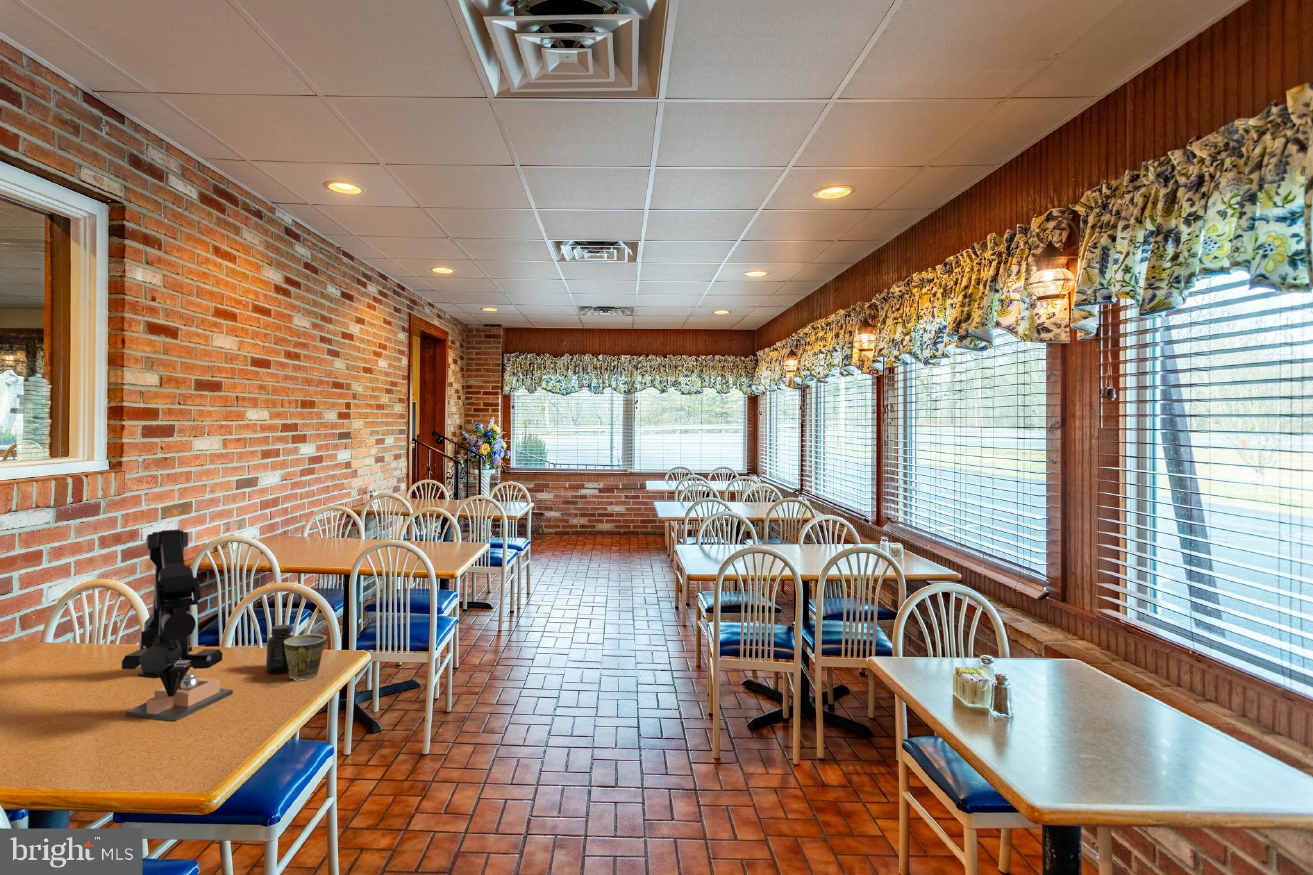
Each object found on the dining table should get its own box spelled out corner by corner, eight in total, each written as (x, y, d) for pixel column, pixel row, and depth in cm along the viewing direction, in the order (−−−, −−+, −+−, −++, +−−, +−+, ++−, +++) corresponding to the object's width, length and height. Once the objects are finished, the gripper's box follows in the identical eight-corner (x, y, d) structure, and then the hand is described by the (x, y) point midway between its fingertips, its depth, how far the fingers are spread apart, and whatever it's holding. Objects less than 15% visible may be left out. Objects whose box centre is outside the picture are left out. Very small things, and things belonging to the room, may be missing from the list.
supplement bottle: (300, 666, 179) (301, 623, 179) (283, 675, 172) (285, 631, 173) (277, 665, 180) (278, 622, 180) (259, 673, 173) (261, 629, 173)
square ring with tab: (133, 711, 145) (134, 698, 145) (187, 688, 159) (188, 676, 159) (168, 715, 144) (169, 702, 144) (219, 691, 158) (220, 679, 158)
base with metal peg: (125, 715, 145) (126, 688, 145) (186, 689, 161) (187, 664, 161) (175, 721, 144) (176, 692, 144) (232, 693, 159) (233, 668, 159)
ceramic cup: (286, 671, 175) (287, 635, 175) (327, 668, 179) (328, 632, 179) (276, 689, 163) (278, 650, 163) (320, 685, 167) (321, 646, 167)
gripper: (104, 639, 139) (101, 711, 138) (196, 638, 141) (193, 709, 141) (140, 624, 150) (137, 691, 150) (224, 624, 152) (222, 690, 152)
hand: (171, 695), depth 147 cm, fingers closed
